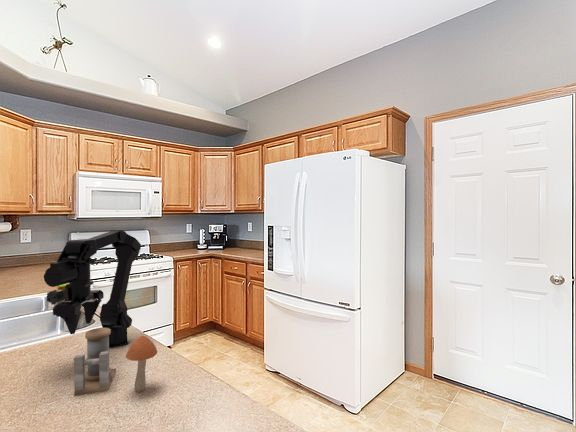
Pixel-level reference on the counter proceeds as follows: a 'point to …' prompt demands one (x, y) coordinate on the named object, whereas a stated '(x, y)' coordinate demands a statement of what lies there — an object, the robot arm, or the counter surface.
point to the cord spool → (96, 350)
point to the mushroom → (141, 358)
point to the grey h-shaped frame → (79, 372)
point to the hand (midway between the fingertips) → (80, 328)
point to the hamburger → (61, 287)
